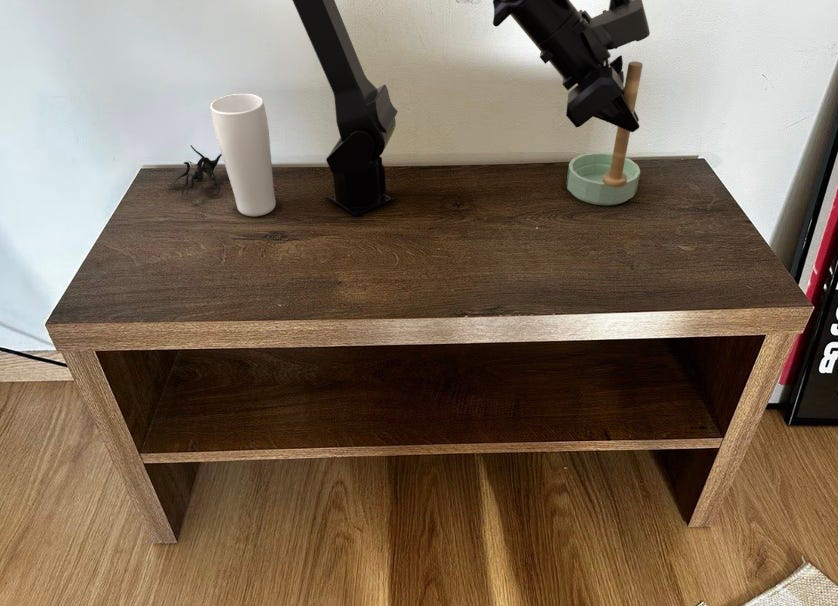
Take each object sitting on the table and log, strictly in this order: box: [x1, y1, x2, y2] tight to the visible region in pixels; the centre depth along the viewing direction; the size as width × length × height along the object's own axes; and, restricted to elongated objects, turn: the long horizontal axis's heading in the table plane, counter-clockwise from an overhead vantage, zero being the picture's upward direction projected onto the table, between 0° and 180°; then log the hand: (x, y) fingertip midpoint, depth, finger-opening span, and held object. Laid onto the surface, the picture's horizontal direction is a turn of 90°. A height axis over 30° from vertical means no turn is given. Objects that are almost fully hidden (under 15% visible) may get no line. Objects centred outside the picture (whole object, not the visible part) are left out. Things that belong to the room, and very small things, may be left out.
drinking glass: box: [209, 93, 277, 218], centre depth 93 cm, size 7×7×15 cm
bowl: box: [566, 152, 641, 206], centre depth 100 cm, size 10×10×4 cm
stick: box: [603, 60, 643, 187], centre depth 86 cm, size 3×3×15 cm
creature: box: [173, 144, 222, 198], centre depth 101 cm, size 8×5×8 cm
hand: (635, 126), depth 85 cm, fingers closed on stick
